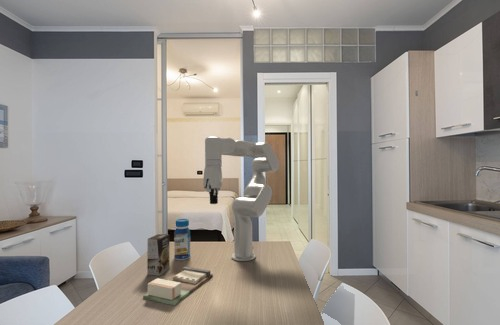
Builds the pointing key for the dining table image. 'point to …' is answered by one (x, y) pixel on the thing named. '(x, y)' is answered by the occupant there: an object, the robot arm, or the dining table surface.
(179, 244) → the beverage bottle
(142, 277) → the dining table surface
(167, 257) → the coffee box
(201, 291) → the dining table surface
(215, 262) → the dining table surface
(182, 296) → the board
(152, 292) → the stub
